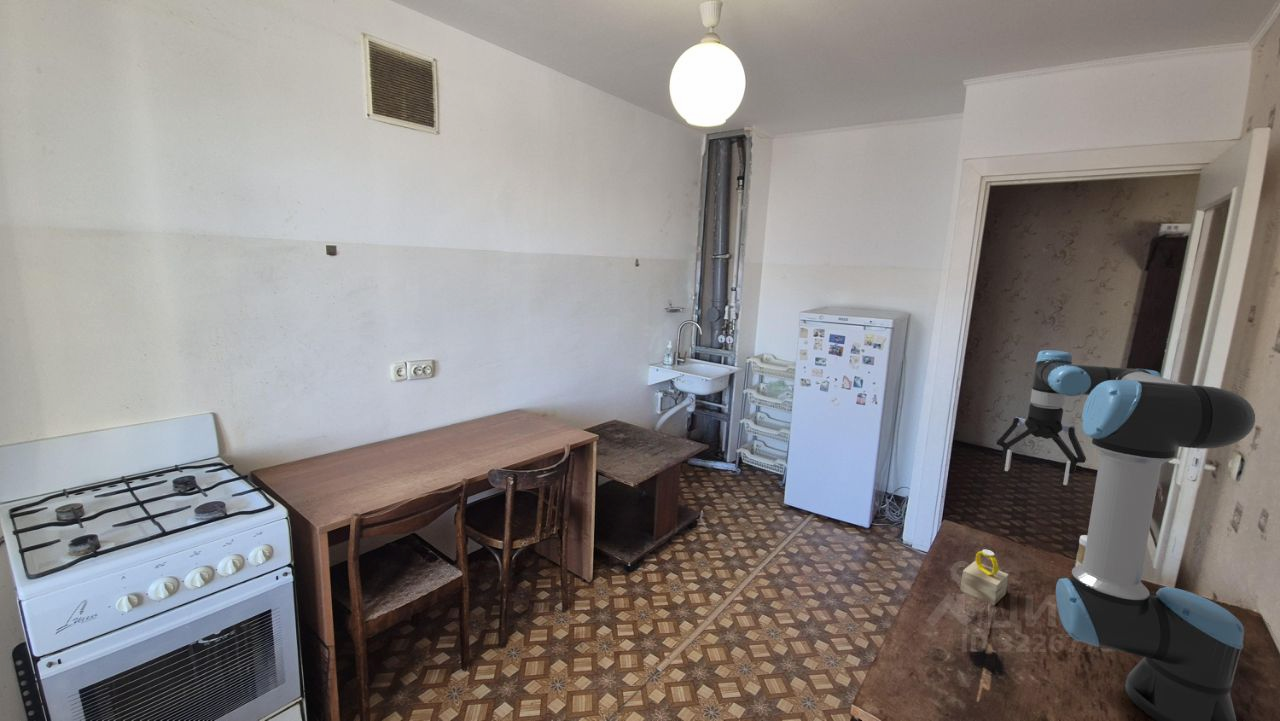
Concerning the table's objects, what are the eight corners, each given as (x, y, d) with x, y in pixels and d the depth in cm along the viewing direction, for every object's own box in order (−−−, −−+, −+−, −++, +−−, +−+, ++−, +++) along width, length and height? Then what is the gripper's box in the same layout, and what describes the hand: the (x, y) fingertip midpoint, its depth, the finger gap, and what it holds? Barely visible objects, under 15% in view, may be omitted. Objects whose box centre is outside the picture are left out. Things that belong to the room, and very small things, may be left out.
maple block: (1005, 594, 137) (1008, 574, 136) (993, 606, 133) (997, 585, 132) (972, 580, 144) (975, 560, 143) (960, 590, 139) (962, 570, 138)
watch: (999, 578, 135) (1003, 559, 133) (989, 579, 134) (993, 560, 133) (980, 564, 141) (984, 545, 139) (971, 565, 140) (975, 546, 139)
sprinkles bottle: (1076, 586, 141) (1084, 541, 139) (1069, 576, 146) (1077, 533, 143) (1097, 589, 140) (1105, 544, 137) (1089, 580, 144) (1097, 536, 142)
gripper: (1106, 411, 138) (1093, 485, 142) (997, 395, 156) (987, 461, 160) (1104, 417, 133) (1090, 493, 137) (991, 399, 151) (981, 467, 155)
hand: (1035, 476), depth 148 cm, fingers open, 13 cm apart
